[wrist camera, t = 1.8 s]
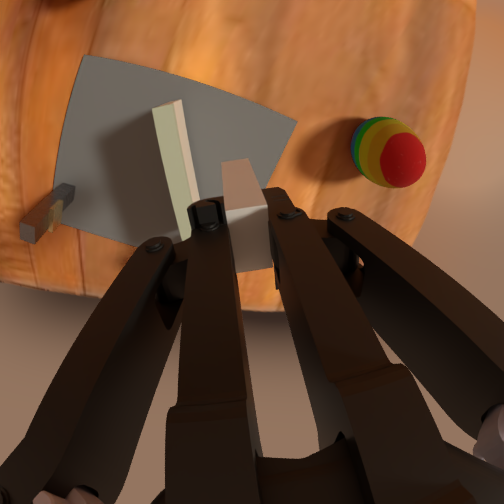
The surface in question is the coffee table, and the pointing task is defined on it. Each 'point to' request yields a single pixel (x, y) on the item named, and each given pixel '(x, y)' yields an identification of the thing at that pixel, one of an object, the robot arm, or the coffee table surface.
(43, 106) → the coffee table surface
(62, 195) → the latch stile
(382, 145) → the decorative egg
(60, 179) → the mat
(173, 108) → the gate
